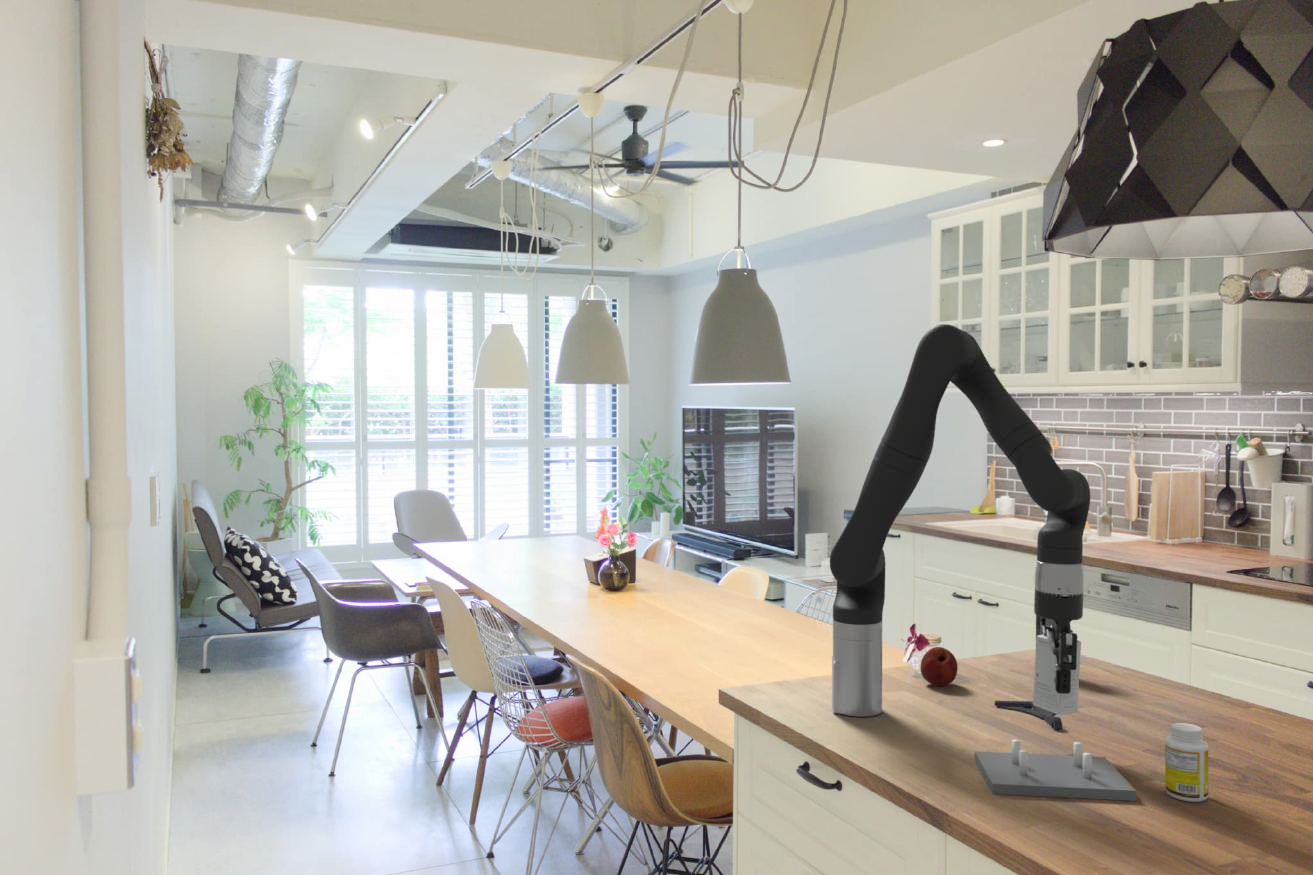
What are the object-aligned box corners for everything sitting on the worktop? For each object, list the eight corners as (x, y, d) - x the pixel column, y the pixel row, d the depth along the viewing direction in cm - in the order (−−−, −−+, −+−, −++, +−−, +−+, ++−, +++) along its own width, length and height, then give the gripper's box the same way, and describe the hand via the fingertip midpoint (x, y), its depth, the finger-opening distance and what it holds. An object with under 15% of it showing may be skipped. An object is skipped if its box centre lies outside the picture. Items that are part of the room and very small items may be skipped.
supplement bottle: (1189, 787, 145) (1190, 719, 145) (1217, 802, 139) (1217, 731, 139) (1156, 790, 144) (1156, 721, 144) (1182, 804, 139) (1183, 733, 138)
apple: (919, 688, 198) (919, 649, 198) (920, 678, 206) (921, 641, 206) (957, 691, 196) (957, 652, 196) (957, 681, 204) (957, 643, 203)
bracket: (1016, 733, 172) (1017, 717, 172) (994, 707, 187) (994, 693, 187) (1100, 736, 171) (1100, 720, 171) (1071, 710, 186) (1071, 696, 186)
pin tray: (992, 793, 143) (992, 760, 143) (974, 760, 156) (974, 729, 156) (1135, 800, 140) (1136, 766, 140) (1104, 766, 154) (1105, 735, 154)
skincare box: (1031, 705, 164) (1033, 634, 164) (1050, 702, 166) (1052, 632, 166) (1061, 716, 158) (1062, 642, 158) (1080, 712, 160) (1082, 640, 160)
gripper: (1025, 580, 169) (1023, 673, 170) (1046, 595, 155) (1043, 697, 156) (1070, 582, 168) (1068, 676, 169) (1095, 597, 154) (1093, 700, 154)
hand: (1056, 686), depth 162 cm, fingers closed on skincare box, 7 cm apart
